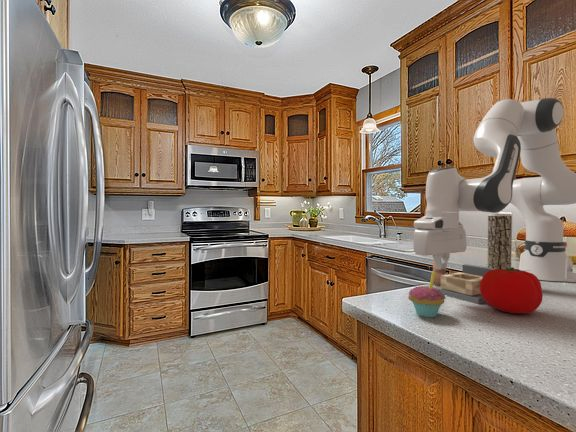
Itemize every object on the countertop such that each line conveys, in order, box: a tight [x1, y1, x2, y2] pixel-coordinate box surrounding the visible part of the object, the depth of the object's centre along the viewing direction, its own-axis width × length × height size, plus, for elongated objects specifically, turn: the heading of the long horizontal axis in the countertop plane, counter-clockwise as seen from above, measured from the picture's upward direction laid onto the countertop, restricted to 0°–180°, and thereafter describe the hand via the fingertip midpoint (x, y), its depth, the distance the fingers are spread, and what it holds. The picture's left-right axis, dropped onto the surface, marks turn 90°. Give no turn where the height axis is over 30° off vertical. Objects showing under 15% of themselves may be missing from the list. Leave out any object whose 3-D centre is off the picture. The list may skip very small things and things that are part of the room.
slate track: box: [434, 263, 494, 305], centre depth 97 cm, size 18×14×8 cm
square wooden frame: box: [440, 271, 483, 296], centre depth 96 cm, size 10×10×4 cm
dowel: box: [432, 258, 447, 287], centre depth 108 cm, size 4×4×10 cm
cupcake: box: [408, 269, 446, 318], centre depth 79 cm, size 9×8×12 cm
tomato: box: [480, 266, 544, 314], centre depth 81 cm, size 12×13×12 cm
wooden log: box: [487, 213, 513, 269], centre depth 107 cm, size 7×7×25 cm
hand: (440, 268), depth 91 cm, fingers closed
